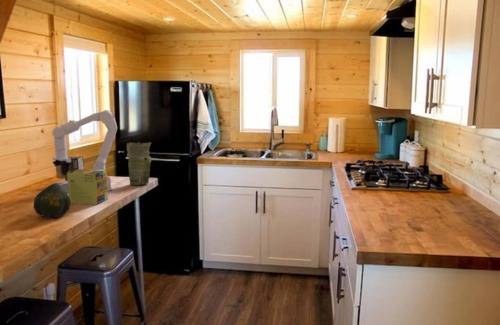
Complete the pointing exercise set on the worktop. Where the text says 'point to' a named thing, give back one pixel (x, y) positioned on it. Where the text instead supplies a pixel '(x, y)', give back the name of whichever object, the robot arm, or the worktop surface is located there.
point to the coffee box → (76, 164)
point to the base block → (63, 185)
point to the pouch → (139, 163)
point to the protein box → (87, 186)
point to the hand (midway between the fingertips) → (62, 174)
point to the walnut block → (60, 172)
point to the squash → (52, 201)
